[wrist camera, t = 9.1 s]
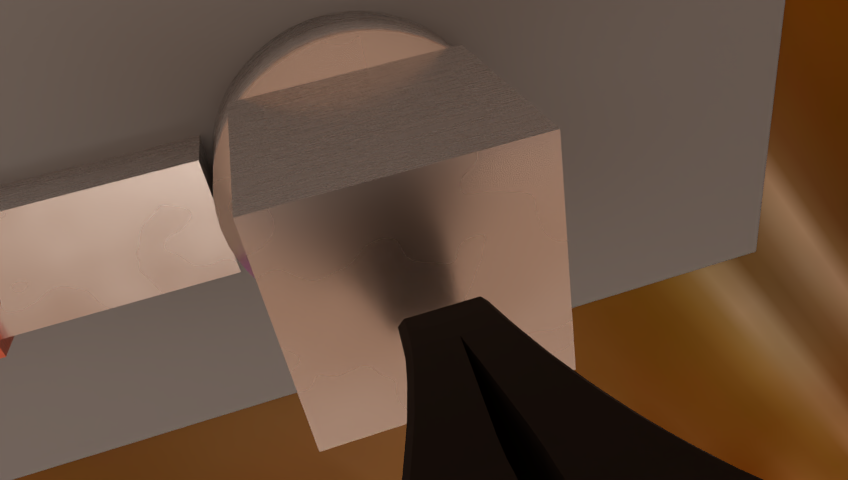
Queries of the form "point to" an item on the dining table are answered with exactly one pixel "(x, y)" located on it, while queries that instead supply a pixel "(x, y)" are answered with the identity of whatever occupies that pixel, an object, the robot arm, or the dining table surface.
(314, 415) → the pale pink cube
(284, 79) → the ratchet
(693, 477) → the robot arm
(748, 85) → the mat
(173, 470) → the dining table surface
